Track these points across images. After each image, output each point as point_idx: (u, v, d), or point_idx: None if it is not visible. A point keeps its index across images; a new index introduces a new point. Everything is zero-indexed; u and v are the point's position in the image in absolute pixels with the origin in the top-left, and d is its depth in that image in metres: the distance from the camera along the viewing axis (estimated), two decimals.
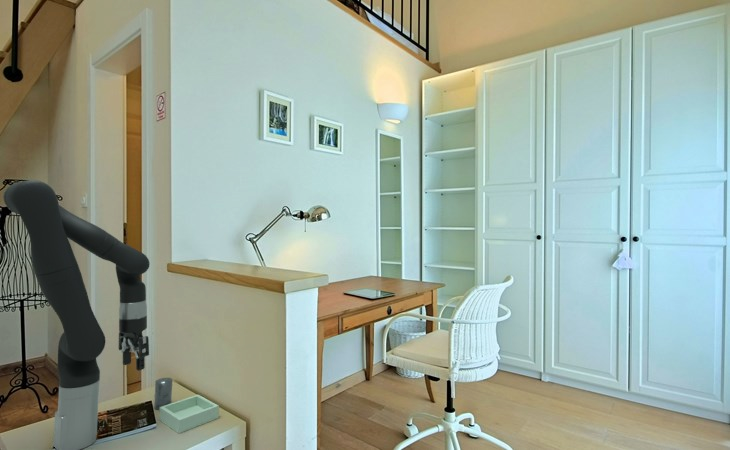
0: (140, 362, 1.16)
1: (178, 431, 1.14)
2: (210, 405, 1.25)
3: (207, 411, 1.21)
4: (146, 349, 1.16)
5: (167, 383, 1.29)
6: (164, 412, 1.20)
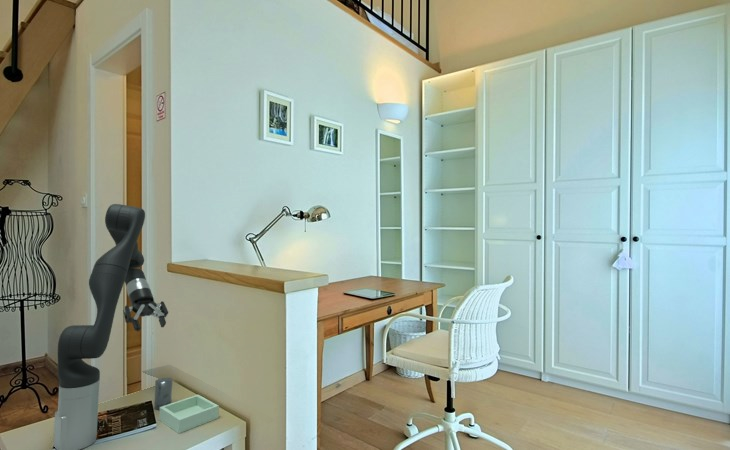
0: None
1: (178, 431, 1.14)
2: (210, 405, 1.25)
3: (207, 411, 1.21)
4: (163, 312, 1.47)
5: (167, 383, 1.29)
6: (164, 412, 1.20)
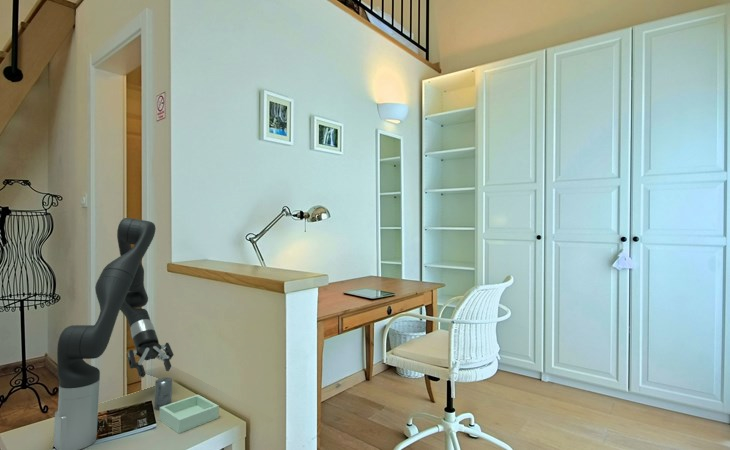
0: None
1: (178, 431, 1.14)
2: (210, 405, 1.25)
3: (207, 411, 1.21)
4: (168, 354, 1.43)
5: (167, 383, 1.30)
6: (164, 412, 1.20)
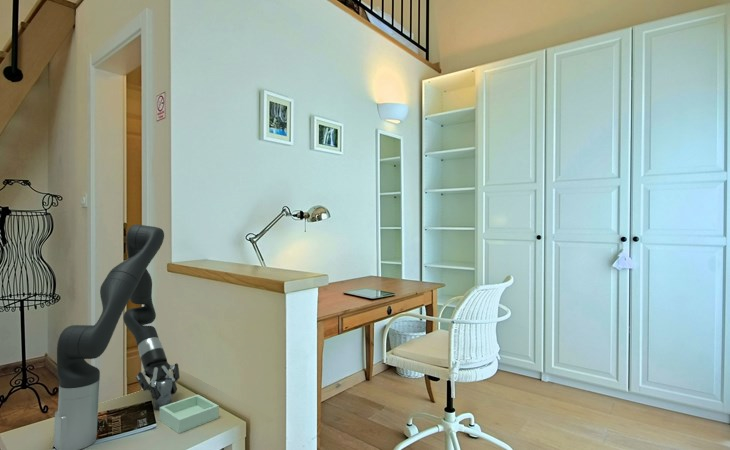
0: None
1: (178, 431, 1.14)
2: (210, 405, 1.25)
3: (207, 411, 1.21)
4: None
5: (167, 383, 1.29)
6: (164, 412, 1.20)
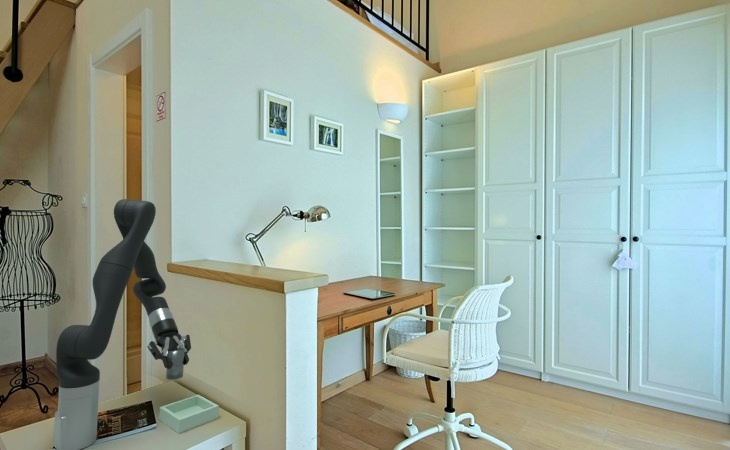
0: None
1: (178, 431, 1.14)
2: (210, 405, 1.25)
3: (207, 411, 1.21)
4: (186, 347, 1.34)
5: (179, 352, 1.26)
6: (164, 412, 1.20)
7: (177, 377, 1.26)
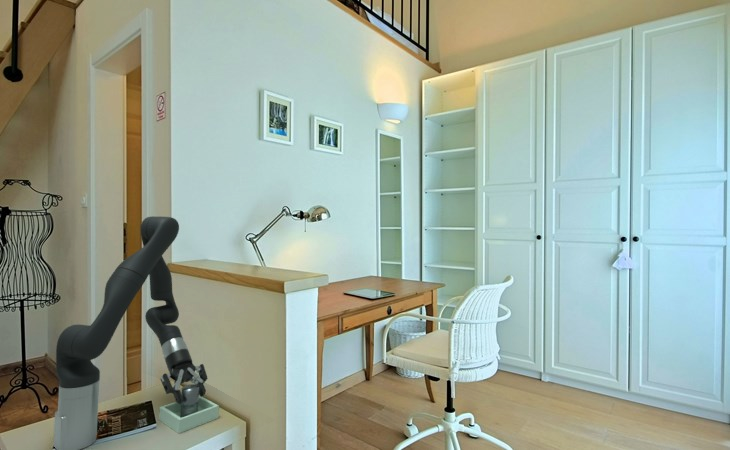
0: None
1: (178, 431, 1.14)
2: (210, 405, 1.25)
3: (207, 411, 1.21)
4: (202, 377, 1.30)
5: (194, 390, 1.22)
6: (164, 412, 1.20)
7: None
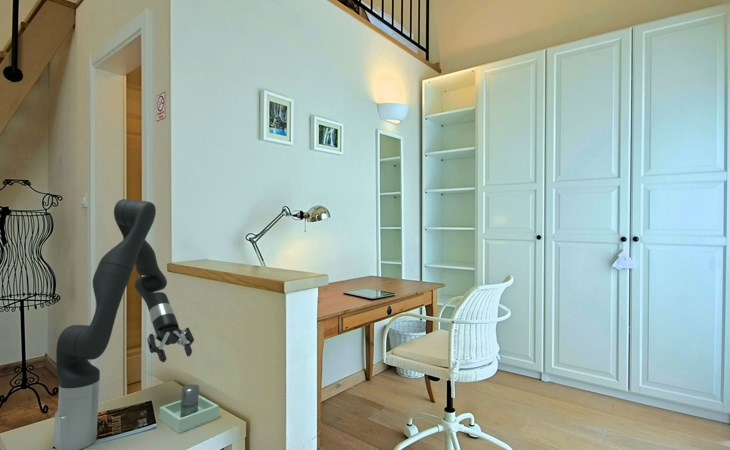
0: None
1: (178, 431, 1.14)
2: (210, 405, 1.25)
3: (207, 411, 1.21)
4: (189, 339, 1.37)
5: (194, 391, 1.22)
6: (164, 412, 1.20)
7: None
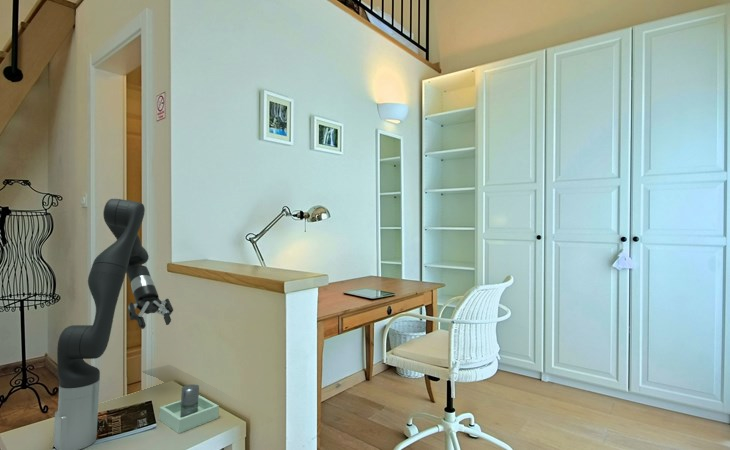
0: None
1: (178, 431, 1.14)
2: (210, 405, 1.25)
3: (207, 411, 1.21)
4: None
5: (194, 391, 1.22)
6: (164, 412, 1.20)
7: None
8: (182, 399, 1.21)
